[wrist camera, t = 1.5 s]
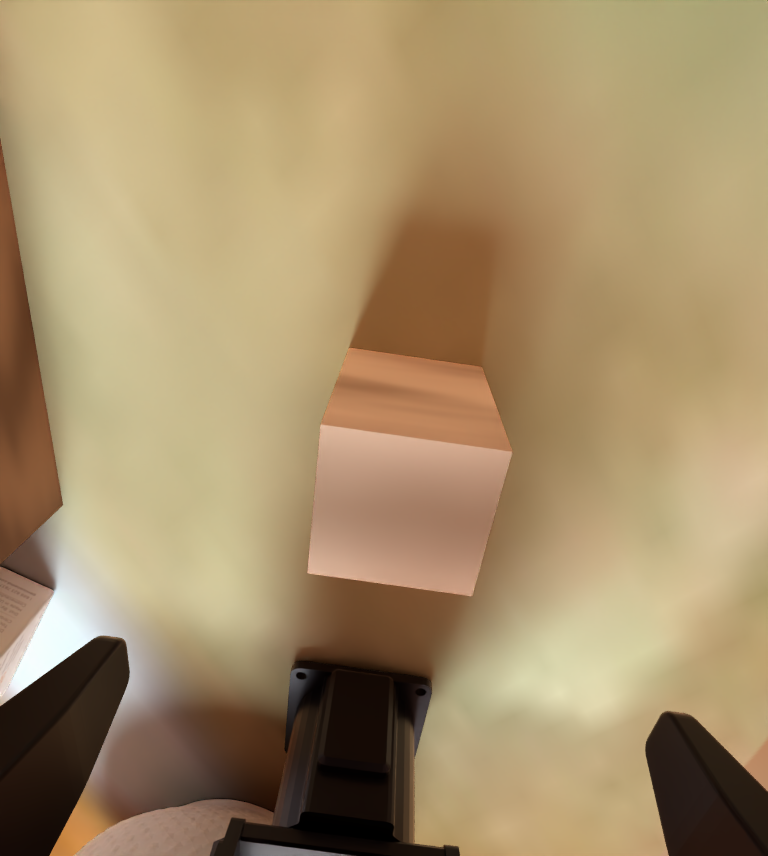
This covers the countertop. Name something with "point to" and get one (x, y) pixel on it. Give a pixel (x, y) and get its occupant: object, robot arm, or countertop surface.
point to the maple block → (407, 473)
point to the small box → (18, 619)
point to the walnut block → (20, 402)
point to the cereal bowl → (174, 830)
